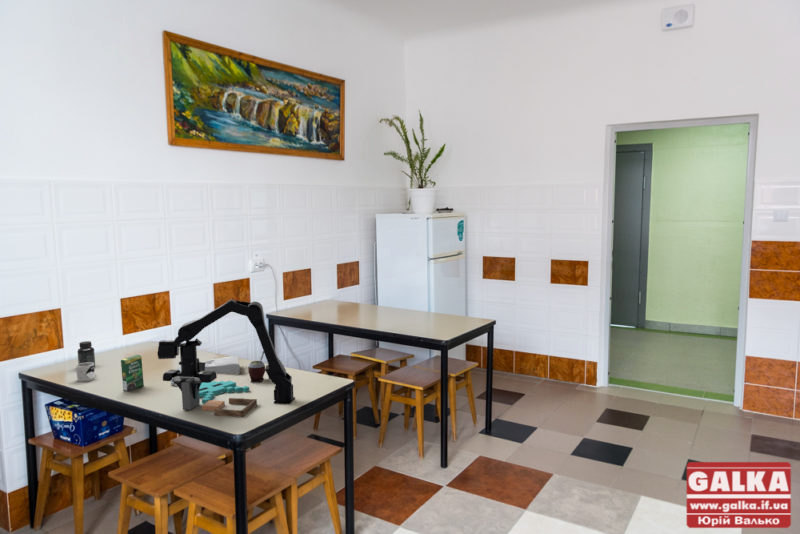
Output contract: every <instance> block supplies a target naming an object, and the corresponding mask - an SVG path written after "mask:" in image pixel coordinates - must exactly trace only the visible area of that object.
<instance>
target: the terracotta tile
mask: <svg viewBox="0 0 800 534" xmlns="http://www.w3.org/2000/svg"><path fill="white" fill-rule="evenodd" d="M225 405H226V404H225V401H224V400H214V399H212V400H209V401H208V402H206V403H205V404H202V405H201V410H202V411H212V412H214V409H221V408H222V409H223V407H224V406H225Z"/></svg>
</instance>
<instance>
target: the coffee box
mask: <svg viewBox="0 0 800 534" xmlns="http://www.w3.org/2000/svg"><path fill="white" fill-rule="evenodd" d="M142 361H143V360H142V355H139V354H135V355H133V356H130V357H126V358H123V359H120V366H121V377H122V378H121V379H122V388H123V389H122V390H123V392H124V391H125V392H129V391H132V390H135V389H139V388H141V387H144V385H145V382H144V372H143V371H144V370H143V362H142Z"/></svg>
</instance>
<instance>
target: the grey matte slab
mask: <svg viewBox="0 0 800 534" xmlns="http://www.w3.org/2000/svg"><path fill="white" fill-rule="evenodd" d="M194 381H195V380H194V379H190V378H189V379H187V380H186V381H184V382H182V383H181V387H182V392H181V399H182V401H181V402H182V410H183V411H184V410H188V411H191V410H192V409H194V408H195V407H197V406H198V405H200V404H201V403H200V398H201V397H200V398H199V391H198V394H197V397H196V399H194V397H193V391H192V382H194Z"/></svg>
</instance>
